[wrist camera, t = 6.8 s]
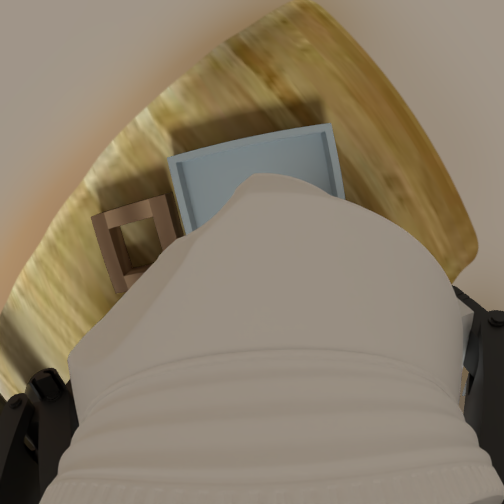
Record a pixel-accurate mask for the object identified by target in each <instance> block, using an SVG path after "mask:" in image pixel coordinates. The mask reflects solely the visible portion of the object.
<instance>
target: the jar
mask: <svg viewBox="0 0 504 504" xmlns="http://www.w3.org/2000/svg"><path fill="white" fill-rule="evenodd" d="M462 361H463V325H462V317H461V312H460V307H459V304H458V300H457V297H456V294H455V292H454V289H453V287H452V285H451V283H450V281H449V279H448V277H447V275H446V274H445V272H444V270H443V269H442V267H441V266H440V265H439V263H438V262H437V261H436V259H435V258H434V257H433V256H432V254H431V253H430V252H429V251H428V250H427V249H426V248H425V247H424V246H423V245H422V244H421V243H420V242H419V241H418V240H416V239H415V238H414V237H413V236H412V235H410V234H409V233H408V232H406V231H405V230H404V229H402V228H401V227H399V226H398V225H396V224H395V223H393V222H391V221H390V220H388V219H386V218H384V217H382V216H380V215H378V214H376V213H374V212H372V211H370V210H368V209H366V208H364V207H362V206H359V205H357V204H355V203H352V202H349V201H347V200H344V199H341V198H338V197H334V196H331V195H329V194H328V193H326V192H325V191H323V190H322V189H320V188H318V187H316V186H314V185H312V184H310V183H308V182H306V181H303V180H300V179H298V178H294V177H291V176H286V175H281V174H273V173H255V174H252V175H251V176H250V177H249V178H247V179H246V180H245V181H244V182H242V183H241V184H240V185H239V186H238V187H237V188H236V190H235V192H234V194H233V195H232V197H231V198H230V199H229V200H228V202H227V203H226V204H225V205H224V206H223V207H222V208H221V210H220V211H219V212H218V213H217V214H216V215H214V216H213V217H212V218H211V219H210V220H209V221H207V222H206V223H205V224H204V225H202V226H201V227H199V228H198V229H196V230H194V231H193V232H191V233H189V234H187V235H185V236H183V237H181V238H178V239H176V240H175V241H174V242H173V243H172V244H170V245H169V246H168V247H167V248H166V249H165V250H164V251H163V252H162V253H161V254H160V255H159V256H158V259H157V260H156V261H155V262H154V263H153V264H152V265H151V266H150V267H149V268H148V269H147V271H146V272H145V273H144V274H143V275H142V276H141V277H140V278H139V279H138V280H137V281H136V282H135V283H134V284H133V285H132V287H131V288H130V289H129V290H128V291H127V292H126V293H125V294H124V295H123V296H122V297H121V299H120V300H119V301H118V302H117V303H116V304H115V305H114V306H113V307H112V308H111V310H110V311H109V312H108V313H107V314H106V315H105V316H104V317H103V319H101V320H100V321H99V322H98V323H97V324H96V325H95V326H94V327H93V328H92V329H91V330H90V331H89V332H88V333H87V334H86V335H85V336H84V337H83V338H82V339H81V340H80V341H79V343H78V344H77V345H76V346H75V347H74V349H73V350H72V351H71V352H70V354H69V356H68V367H69V373H70V379H71V385H72V390H73V396H74V401H75V407H76V412H77V416H78V421H79V427H78V428H77V430H76V431H75V433H74V435H73V437H72V440H71V444H70V447H69V448H68V449H67V450H66V451H65V452H64V453H63V455H62V456H61V459H60V461H59V466H58V475H57V476H56V477H55V479H54V480H53V481H52V482H51V484H50V485H49V486H48V487H47V488H46V490H45V493H44V495H43V497H42V499H41V501H40V503H39V504H501V503H502V502H503V500H504V485H503V483H502V481H501V479H500V478H499V476H498V474H497V472H496V470H495V469H494V467H493V466H492V461H491V458H490V456H489V454H488V453H487V452H486V451H484V450H483V449H481V448H480V447H479V443H478V438H477V435H476V433H475V431H474V430H473V428H472V427H471V426H470V425H469V424H467V423H466V422H465V418H464V415H463V413H462V411H461V409H460V408H459V399H460V389H461V378H462Z"/></svg>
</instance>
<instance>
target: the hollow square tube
mask: <svg viewBox="0 0 504 504" xmlns="http://www.w3.org/2000/svg"><path fill="white" fill-rule="evenodd" d="M150 217H153V219H154V222H155V226H156V229H157V233H158V237H159V240H160V243H161V247H162V250H163V251H164V250H165V249H166V248H167V247H168V246H169V245H170V244H172V243H173V242H174V241H175V240H176V239H178V238H181V237H183V236H184V235H183V231H182V227H181V224H180V220H179V216H178V212H177V208H176V205H175V201H174V197H173V193H172V192H170V193H166V194H162V195H159V196H155V197H151V198H148V199H145V200H141V201H138V202H134V203H131V204H128V205H124V206H121V207H118V208H115V209H111V210H108V211H105V212H102V213H99V214H97V215H94V216H92V217H91V220H92V223H93V227H94V230H95V233H96V237H97V240H98V243H99V246H100V250H101V253H102V256H103V259H104V262H105V265H106V268H107V271H108V273H109V276H110V279H111V282H112V285H113V287H114V290H115V293H116V294H117V293H122V292H127V291H128V290H129V289H130V288H131V287H132V285H133V284H134V283H135V282H136V281H137V280H138V279H139V278H140V277H141V276H142V275H143V274H144V273H145V272H146V271H147V269H148V268H149V267H150V266H151V265H152V264H148V265H144V266H139V267H134V268H132V265H131V262H130V258H129V255H128V252H127V249H126V246H125V243H124V239H123V236H122V232H121V229H120V226H121V225H124V224H128V223H131V222H135V221H138V220H142V219H146V218H150Z"/></svg>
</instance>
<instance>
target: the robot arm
mask: <svg viewBox="0 0 504 504" xmlns="http://www.w3.org/2000/svg"><path fill="white" fill-rule="evenodd" d="M452 287H453V289H454V292H455V294H456V297H457V300H458V304H459V307H460V312H461V317H462V325H463V361H462V369H463V365H464V367H465V368H466V369H467V370H468V371H469V374H468V378H467V381H466V384H465V388H464V391H463V394H462V396H465V406H464V414H463V415H464V418H465V422H466V423H467V424H469V425H470V426H471V427H472V428H473V430H474V431H475V433H476V435H477V438H478V443H479V447H480V448H481V449H483V450H484V451H486V452H487V453H488V454H489V456H490V458H491V461H492V466H493V467H494V469H495V470H496V472H497V474H498V476H499V478H500V479H501V481H502V483H503V485H504V311H498V310H494V311H489V312H488V311H486V310H485V309H484V308H482V307H481V306H480V305H479V304H478V303H476V302H475V301H474V300H473V299H471V298H469V296H468V295H466V294H464V293H463V292H462V291H461V290H460V289H458V288H457V287H455V286H453V285H452ZM465 394H466V395H465ZM78 427H79V421H78V416H77V412H76V407H75V401H74V396H73V390H72V385H71V379H70V380H69V381H68V382H67V384H66V385H65V384H64V382H63V380H62V379H61V377H60V375H59V374H58V372H57V370H56V369H54V368H47V369H43V370H41V371H39V372H38V373H36V374H35V375H34V376H33V377H32V378H31V379H30V382H29V383H28V385H27V387H26V390H25V393H20V394H15V395H14V396H12V397H11V398H10V399H9V400H8V401H6V400H5V399H4V397H3V396H2V395H1V394H0V504H39V503H40V501H41V499H42V497H43V495H44V493H45V490H46V488H47V487H48V486H49V485H50V484H51V482H52V481H53V480H54V479H55V477H56V476H57V475H58V466H59V461H60V459H61V456H62V455H63V453H64V452H65V451H66V450H67V449H68V448H69V447H70V444H71V440H72V437H73V435H74V433H75V431H76V430H77V428H78ZM501 504H504V500H503V502H502V503H501Z"/></svg>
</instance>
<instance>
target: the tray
mask: <svg viewBox="0 0 504 504" xmlns="http://www.w3.org/2000/svg"><path fill="white" fill-rule="evenodd" d="M167 160H168V164H169V168H170V173H171V177H172V181H173V185H174V189H175V193H176V197H177V201H178V205H179V209H180V213H181V217H182V221H183V224H184V228H185V232H186V235H187V234H189V233H191V232H193V231H194V230H196V229H198V228H199V227H201V226H202V225H204V224H205V223H206V222H207V221H209V220H210V219H211V218H212V217H213V216H214V215H216V214H217V213H218V212H219V211H220V210H221V208H222V207H223V206H224V205H225V204H226V203H227V202H228V200H229V199H230V198H231V197H232V195H233V194H234V192H235V190H236V188H237V187H238V186H239V185H240V184H241V183H242V182H244V181H245V180H246V179H247V178H249V177H250V176H251V175H252V174H255V173H273V174H281V175H286V176H291V177H294V178H298V179H300V180H303V181H306V182H308V183H310V184H312V185H314V186H316V187H318V188H320V189H322V190H323V191H325V192H326V193H328V194H329V195H331V196H334V197H338V198H341V199H344V200H345V194H344V188H343V182H342V176H341V170H340V165H339V160H338V154H337V149H336V144H335V139H334V135H333V130H332V126H331V123H327V124H319V125H313V126H306V127H300V128H294V129H288V130H282V131H277V132H272V133H266V134H261V135H256V136H252V137H247V138H242V139H238V140H233V141H229V142H225V143H220V144H216V145H212V146H208V147H204V148H200V149H197V150H193V151H189V152H186V153H182V154H178V155H175V156H171V157H168V158H167Z"/></svg>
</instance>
